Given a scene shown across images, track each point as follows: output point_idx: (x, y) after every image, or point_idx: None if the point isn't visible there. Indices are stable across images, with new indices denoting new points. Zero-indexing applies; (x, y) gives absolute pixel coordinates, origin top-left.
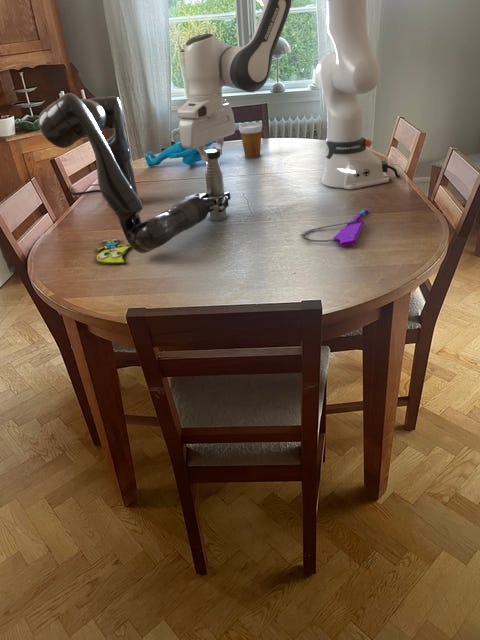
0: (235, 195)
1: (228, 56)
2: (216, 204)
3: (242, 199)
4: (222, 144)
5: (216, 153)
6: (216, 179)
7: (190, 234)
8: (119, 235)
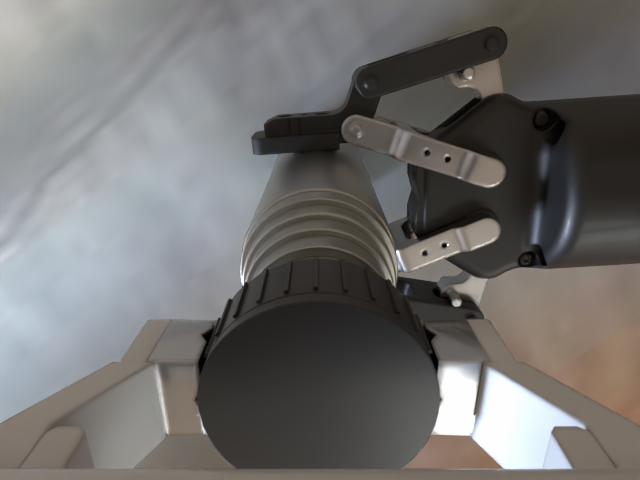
0: (30, 278)
1: None
2: (411, 128)
3: (51, 211)
4: (70, 397)
5: (348, 294)
6: (364, 194)
7: None
8: (632, 413)
